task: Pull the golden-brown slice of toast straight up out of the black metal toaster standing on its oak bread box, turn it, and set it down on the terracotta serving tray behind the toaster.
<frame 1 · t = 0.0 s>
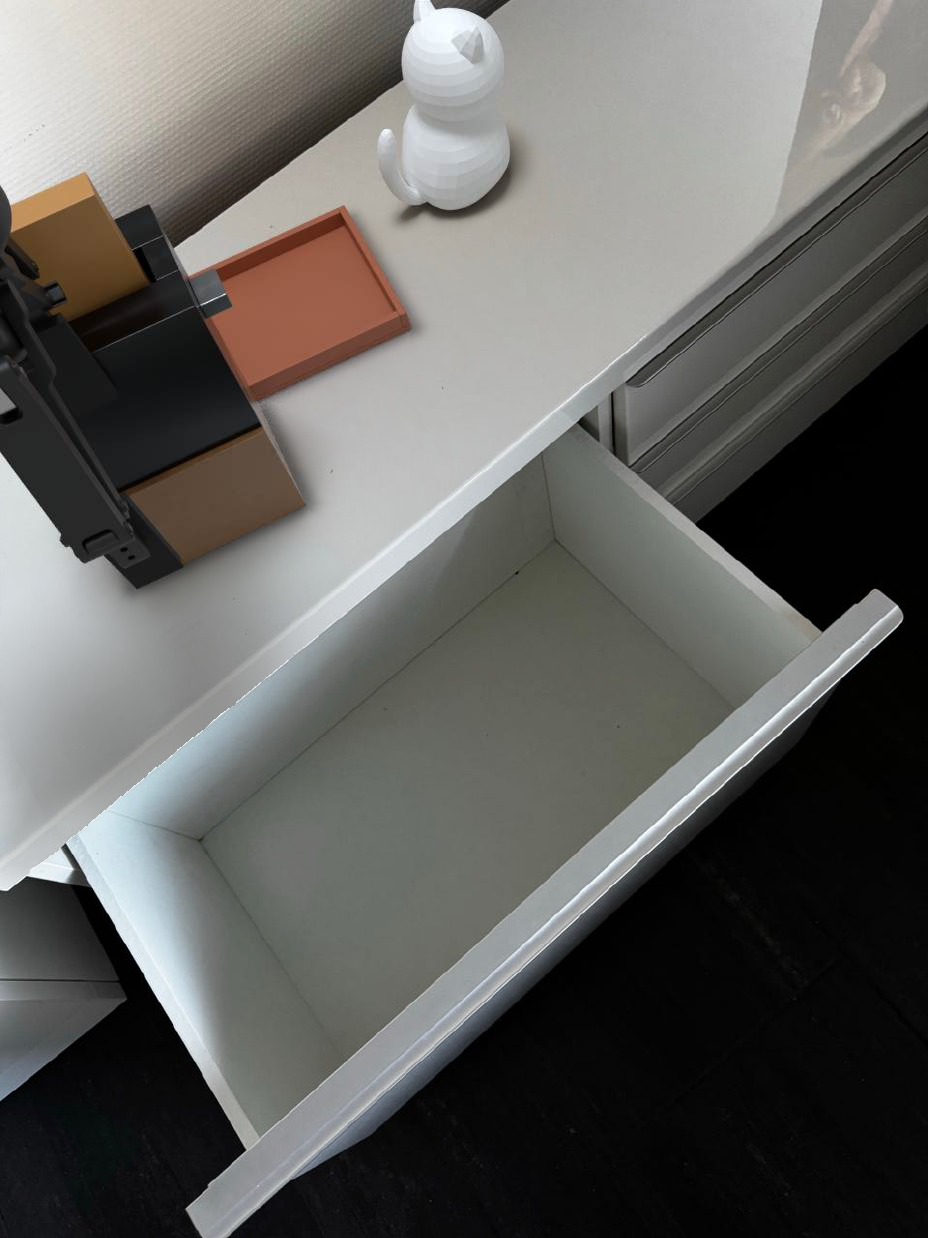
hand: (126, 483, 57), 19 cm above the table, tool pointing down, fingers open, 12 cm apart
cat figurine: (454, 187, 89), on the table
tray: (296, 313, 85), on the table
toaster: (201, 495, 79), on the table
toast: (92, 347, 63), point 18 cm above the table, touching toaster
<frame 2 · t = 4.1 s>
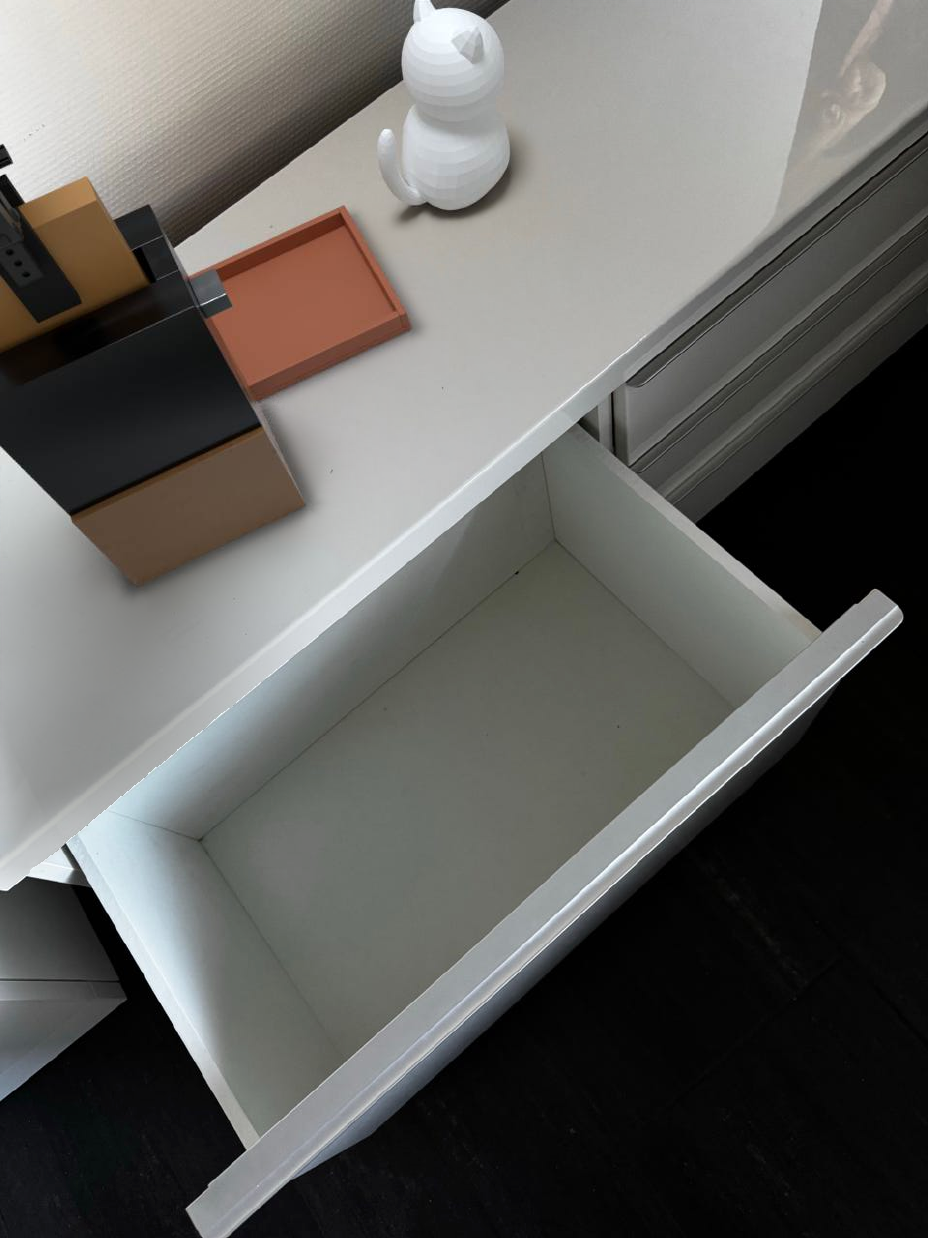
hand: (52, 292, 58), 23 cm above the table, tool pointing down, fingers closed on toast, 2 cm apart
toast: (92, 347, 63), point 18 cm above the table, touching gripper
everything else where it was.
when the fingers open (5 cm above the table, at t = 16.5 s): toast stays where it is, resting on tray.
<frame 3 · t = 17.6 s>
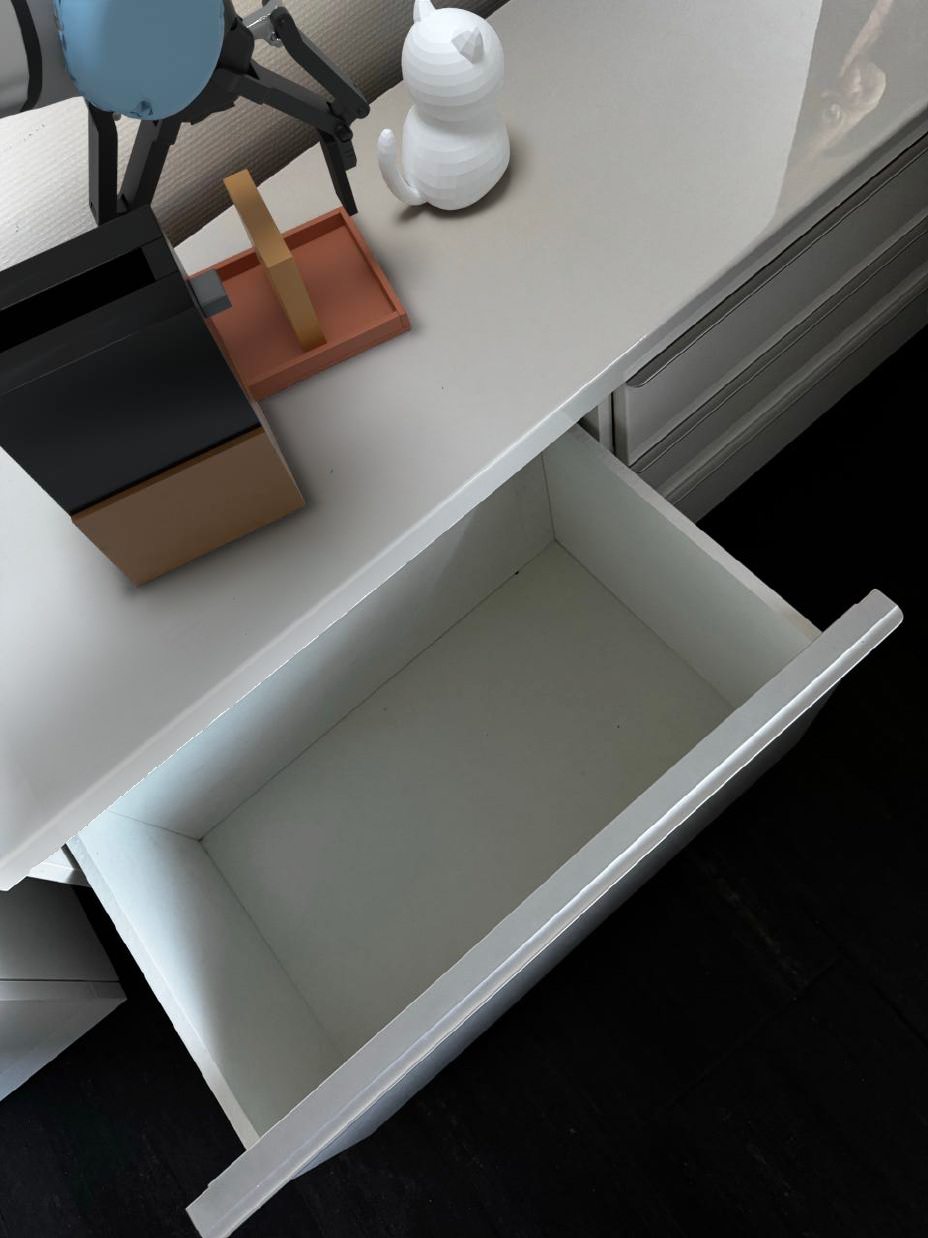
hand: (265, 241, 78), 8 cm above the table, tool pointing down, fingers open, 13 cm apart
toast: (295, 307, 85), point 1 cm above the table, touching tray
everything else where it was.
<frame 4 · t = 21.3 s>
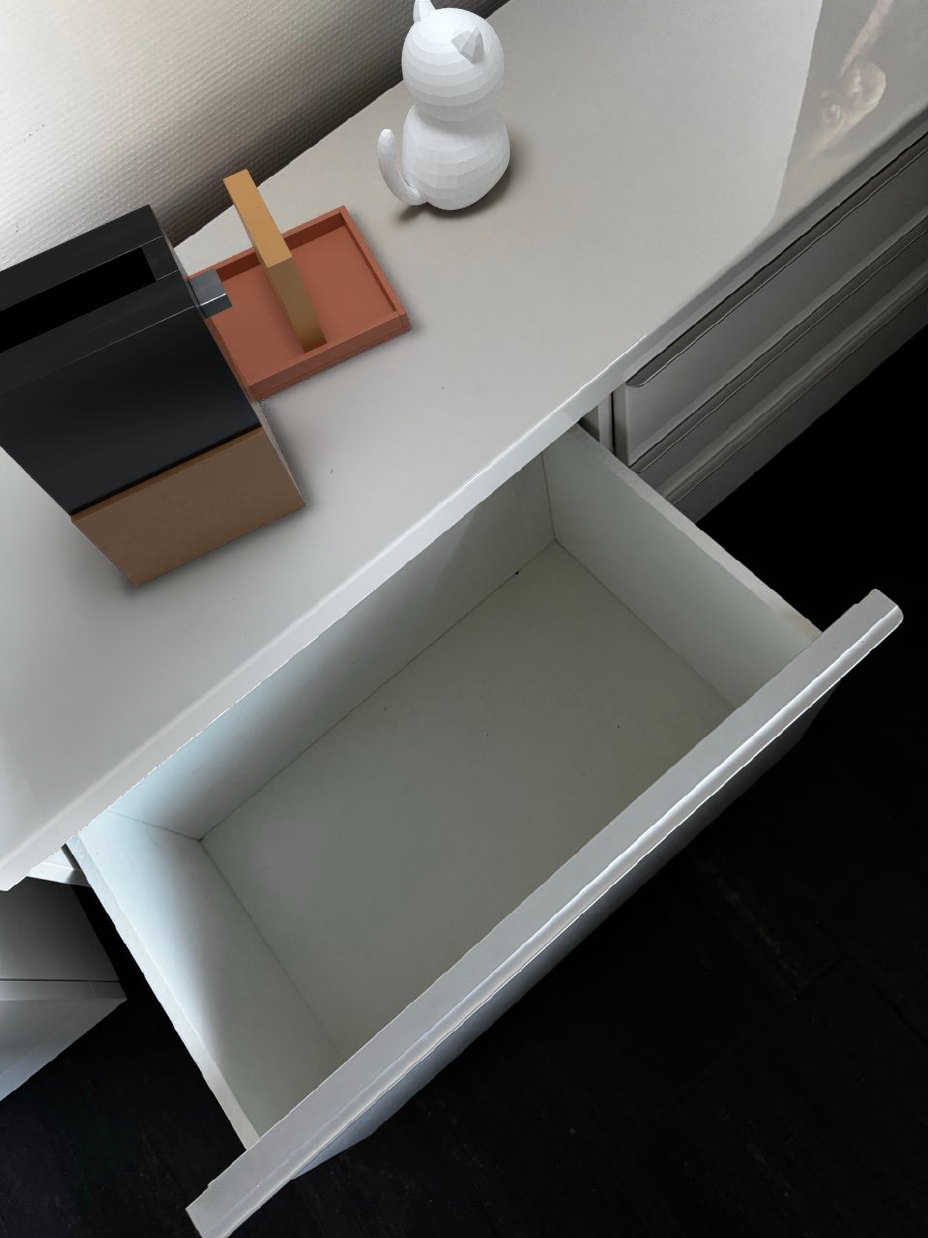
nothing on the table moved.
at the end: toast inside the target area on the tray (0.1 cm from its centre), point 0.6 cm above the tray's base; toast touching tray; the gripper is holding nothing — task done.
